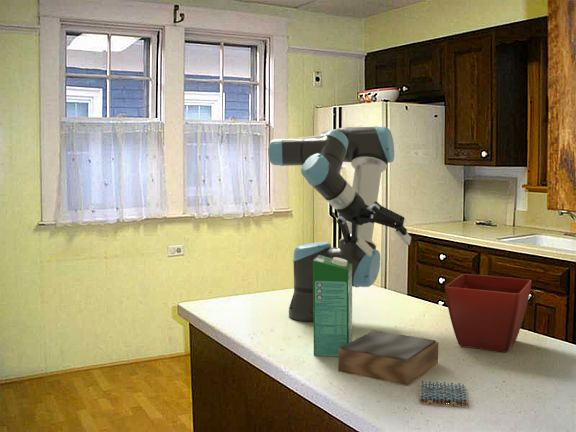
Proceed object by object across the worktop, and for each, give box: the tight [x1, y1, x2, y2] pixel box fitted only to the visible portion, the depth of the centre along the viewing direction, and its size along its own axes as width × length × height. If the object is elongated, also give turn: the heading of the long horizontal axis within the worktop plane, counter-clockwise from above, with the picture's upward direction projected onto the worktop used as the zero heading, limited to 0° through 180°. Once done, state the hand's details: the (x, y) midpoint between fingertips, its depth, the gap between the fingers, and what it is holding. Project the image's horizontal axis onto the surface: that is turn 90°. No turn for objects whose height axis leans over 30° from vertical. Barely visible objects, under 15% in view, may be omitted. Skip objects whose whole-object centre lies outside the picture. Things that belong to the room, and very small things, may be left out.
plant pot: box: [444, 273, 532, 353], centre depth 181 cm, size 19×19×17 cm
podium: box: [337, 329, 439, 386], centre depth 163 cm, size 18×18×6 cm
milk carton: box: [313, 255, 353, 358], centre depth 175 cm, size 9×9×25 cm
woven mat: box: [417, 380, 470, 408], centre depth 144 cm, size 10×11×2 cm
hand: (389, 247), depth 192 cm, fingers open, 13 cm apart
